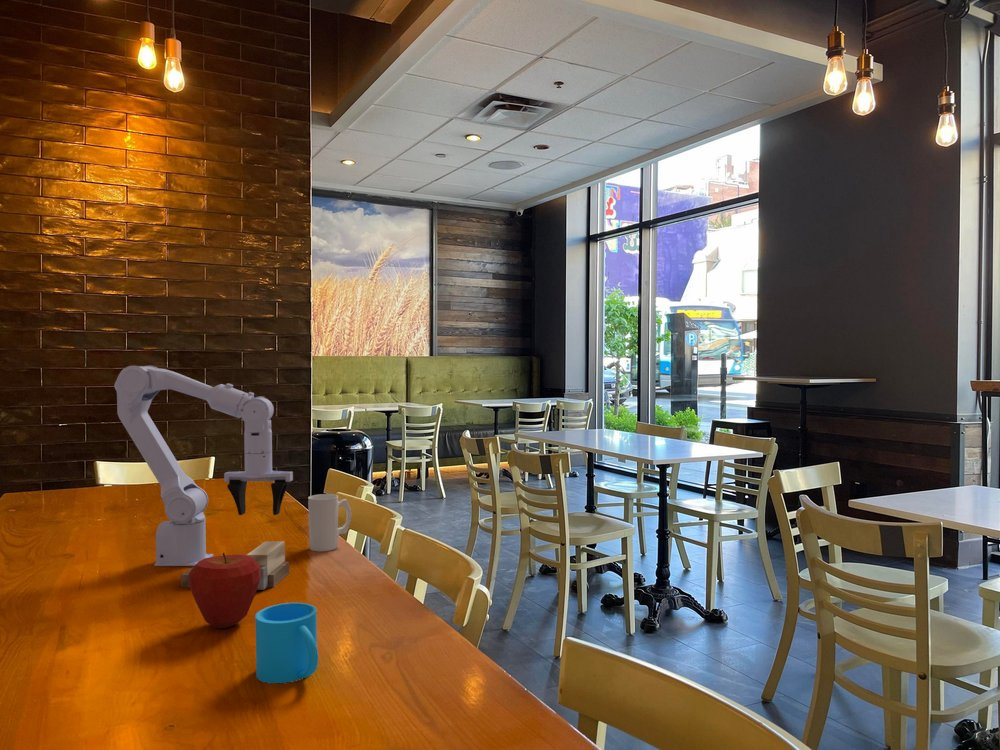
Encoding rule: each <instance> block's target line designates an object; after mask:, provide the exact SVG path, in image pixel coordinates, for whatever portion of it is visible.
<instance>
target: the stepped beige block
mask: <svg viewBox="0 0 1000 750" xmlns="http://www.w3.org/2000/svg"><path fill="white" fill-rule="evenodd" d="M285 545H286V542H285V540H284V541H282V540H281V541H278V540H277V541H274V540H272V541H271V540H266V541H264V542H262V543H261V544H260V545H258V546H257V547H255V548H254V549H253V550H251V551H250V552H249V553H247V554H246V555H247V556H251V557H252V558H254V559H255V560H256V561H257V562H258V563H259V564H260V568H261V578H260V581H259V584H258V587H257V590H256V591H259V590H260V591H262V590H263V591H264V590H265V589H266V588H268V587H267V586H268V577H267V576H268V575H269V574H270V573H271V572H272V571H274V570H275V569H276V568H277V567H278V566H279V565H281V564H282V563H283V562H286V546H285Z"/></svg>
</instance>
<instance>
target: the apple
mask: <svg viewBox="0 0 1000 750" xmlns="http://www.w3.org/2000/svg"><path fill="white" fill-rule="evenodd" d="M192 568H193V569H192V570H191V571H190V573H189V587H188V588H189V589H190V592H191V595H192V596H193V599H194V601H195V604H196V605H197V607H198V609H199V612H200V613H201V615H202V618H203V619H204V621H205V622H206V623H207V624H209V625H210V626H212V627H213V628H215V629H225V628H229V627H233V626H235V625H237V624H238V623H241V621H243V619H244V618H246V617H247V615H248V612H249V610H250V608H251V605H252V604H253V601H254V598H255V596H256V593H257V591H258V590H257V587H258V584H259V581H260V578H261V568H260V564H259V563H258V562H257V561H256V560H255V559H254V558H252V557H251V556H247V554H225V552H223V553H222V555H218V556H213V557H210V558H204V559H202V560H201V561H199V562H198V563H197V564H196V565H195V566H192Z"/></svg>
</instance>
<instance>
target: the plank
mask: <svg viewBox="0 0 1000 750" xmlns="http://www.w3.org/2000/svg"><path fill="white" fill-rule="evenodd" d="M192 569H193V567H191V568H190V569H188V570H187V571H185V572H183V573H181V574H180V588H190V587H189V573H190V571H191V570H192ZM289 574H290V561H284V562H283V563H282V564H281V565H279V566H278V567H277V568H276V569H275V570H274V571H272V572H271V573H270V574H269V575H268V576H267V577H268V586H267V587H266V588H275V587H276V586H277V585H278V584H279V583H280V582H282V580H284V579H285V578H286V577H287V576H288V575H289Z"/></svg>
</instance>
